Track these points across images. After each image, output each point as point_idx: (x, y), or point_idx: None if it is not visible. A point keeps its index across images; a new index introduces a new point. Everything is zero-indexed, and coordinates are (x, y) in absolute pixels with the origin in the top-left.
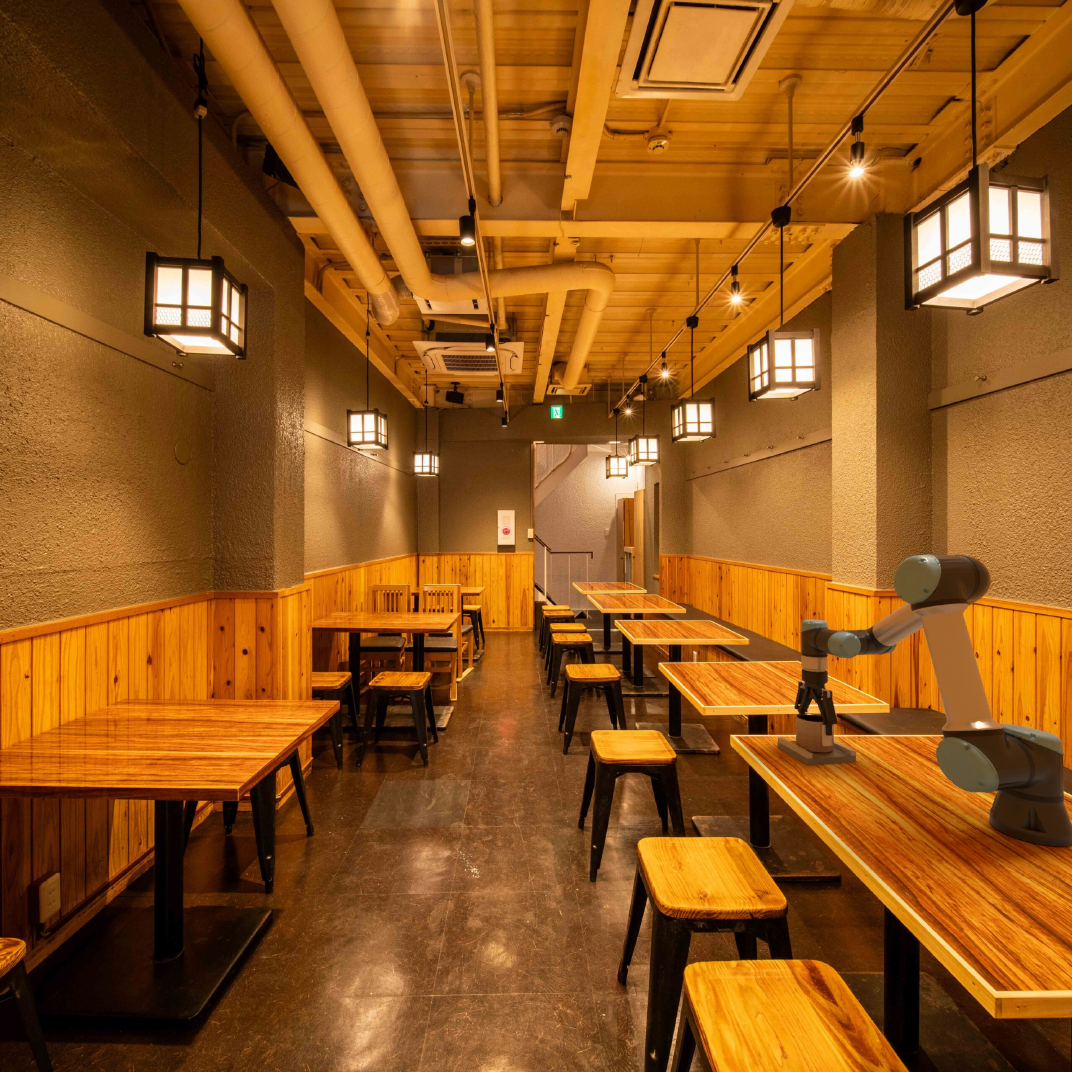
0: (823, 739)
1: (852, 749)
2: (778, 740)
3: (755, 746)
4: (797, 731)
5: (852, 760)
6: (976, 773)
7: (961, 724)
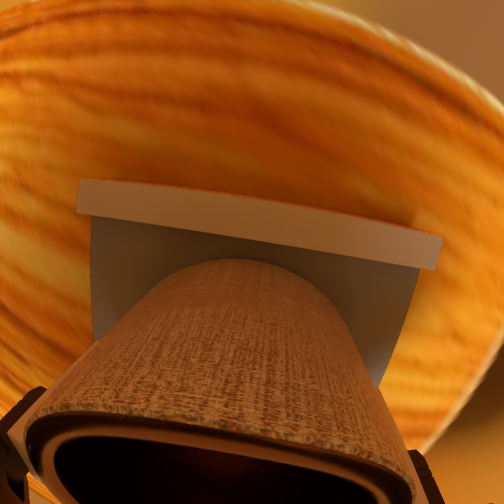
0: (77, 363)
1: None
2: (426, 232)
3: (459, 128)
4: (280, 310)
5: None
6: None
7: None
